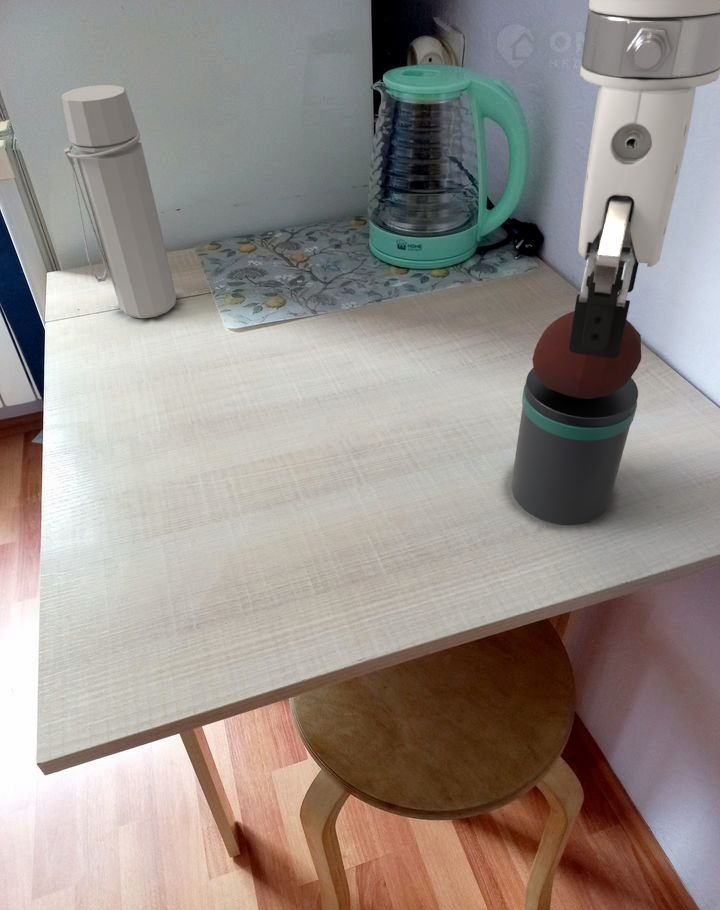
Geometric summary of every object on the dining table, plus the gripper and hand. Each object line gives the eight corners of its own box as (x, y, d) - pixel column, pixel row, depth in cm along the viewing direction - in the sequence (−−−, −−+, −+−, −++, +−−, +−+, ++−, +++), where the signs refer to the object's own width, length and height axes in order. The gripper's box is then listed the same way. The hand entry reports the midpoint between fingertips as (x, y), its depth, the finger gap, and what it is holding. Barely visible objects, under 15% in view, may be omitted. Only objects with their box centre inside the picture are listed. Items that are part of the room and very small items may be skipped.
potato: (657, 402, 53) (678, 332, 49) (558, 426, 51) (571, 355, 47) (602, 352, 58) (617, 285, 54) (511, 372, 56) (519, 305, 52)
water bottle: (170, 287, 94) (122, 80, 78) (185, 313, 88) (137, 96, 72) (100, 304, 91) (35, 92, 75) (111, 332, 86) (43, 110, 69)
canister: (616, 470, 64) (644, 365, 56) (604, 536, 58) (634, 429, 50) (521, 449, 66) (536, 347, 59) (500, 511, 60) (514, 405, 53)
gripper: (725, 84, 32) (648, 394, 43) (726, 20, 44) (666, 273, 55) (558, 80, 35) (525, 374, 45) (602, 19, 47) (568, 263, 58)
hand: (602, 319), depth 50 cm, fingers open, 9 cm apart
